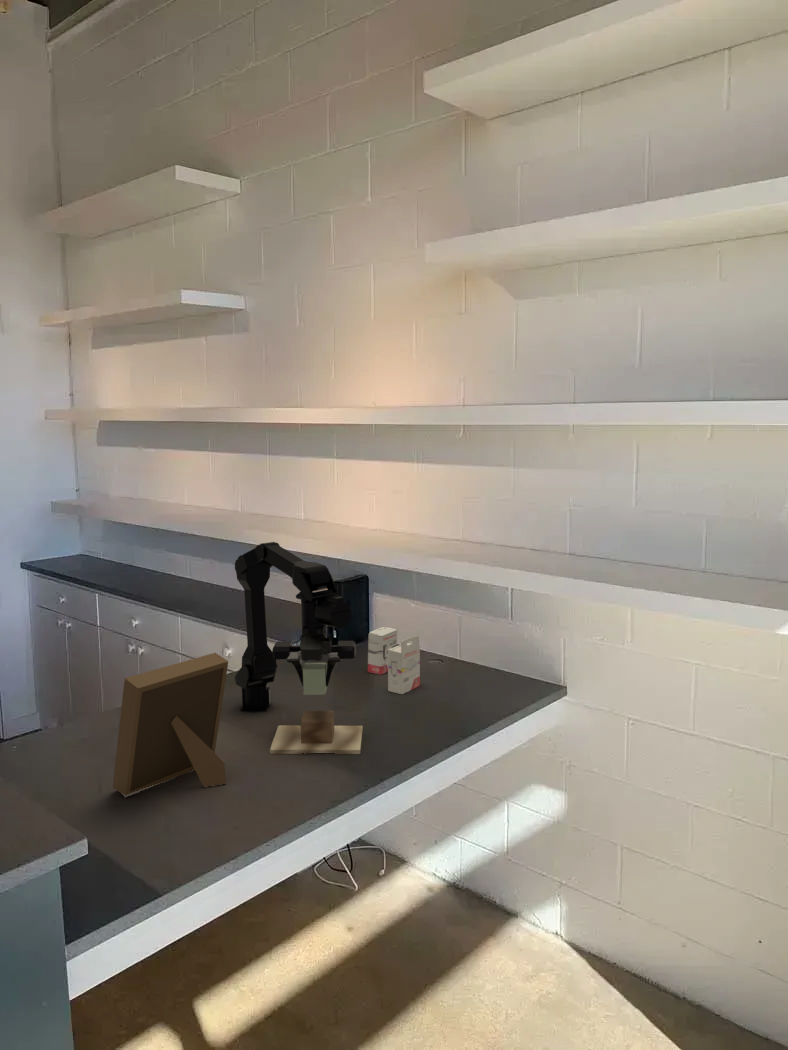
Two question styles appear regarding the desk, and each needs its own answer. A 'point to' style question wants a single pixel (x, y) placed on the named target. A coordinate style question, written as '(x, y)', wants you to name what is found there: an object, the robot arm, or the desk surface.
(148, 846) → the desk surface
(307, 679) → the sage block
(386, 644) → the ink box
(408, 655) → the ink cartridge box
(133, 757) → the photo frame
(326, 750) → the base plate
